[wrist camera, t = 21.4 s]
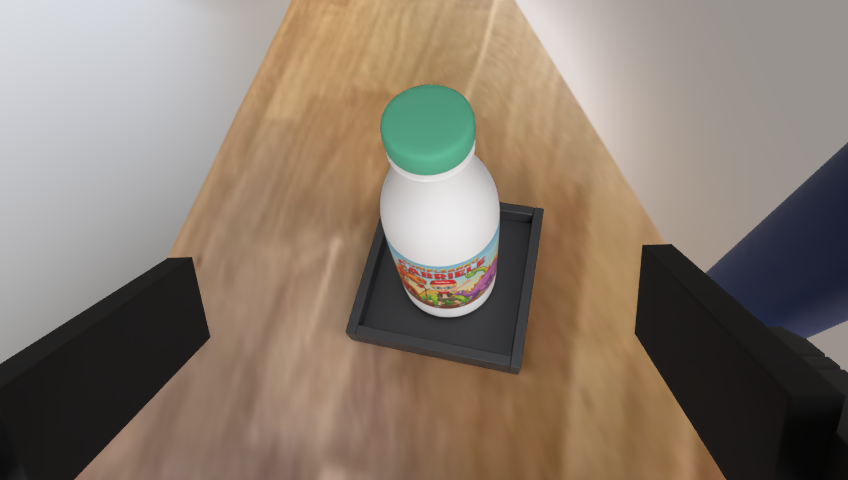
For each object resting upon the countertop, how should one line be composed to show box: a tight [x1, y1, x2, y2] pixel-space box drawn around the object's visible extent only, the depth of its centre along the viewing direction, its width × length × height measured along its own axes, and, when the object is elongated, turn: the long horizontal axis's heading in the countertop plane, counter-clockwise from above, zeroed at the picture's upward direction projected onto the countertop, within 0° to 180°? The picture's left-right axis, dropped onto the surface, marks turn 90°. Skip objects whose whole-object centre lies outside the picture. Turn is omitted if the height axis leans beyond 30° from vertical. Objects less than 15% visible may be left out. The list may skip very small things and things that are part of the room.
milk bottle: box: [380, 85, 500, 317], centre depth 32 cm, size 8×8×20 cm
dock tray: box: [346, 202, 544, 374], centre depth 41 cm, size 14×14×2 cm
